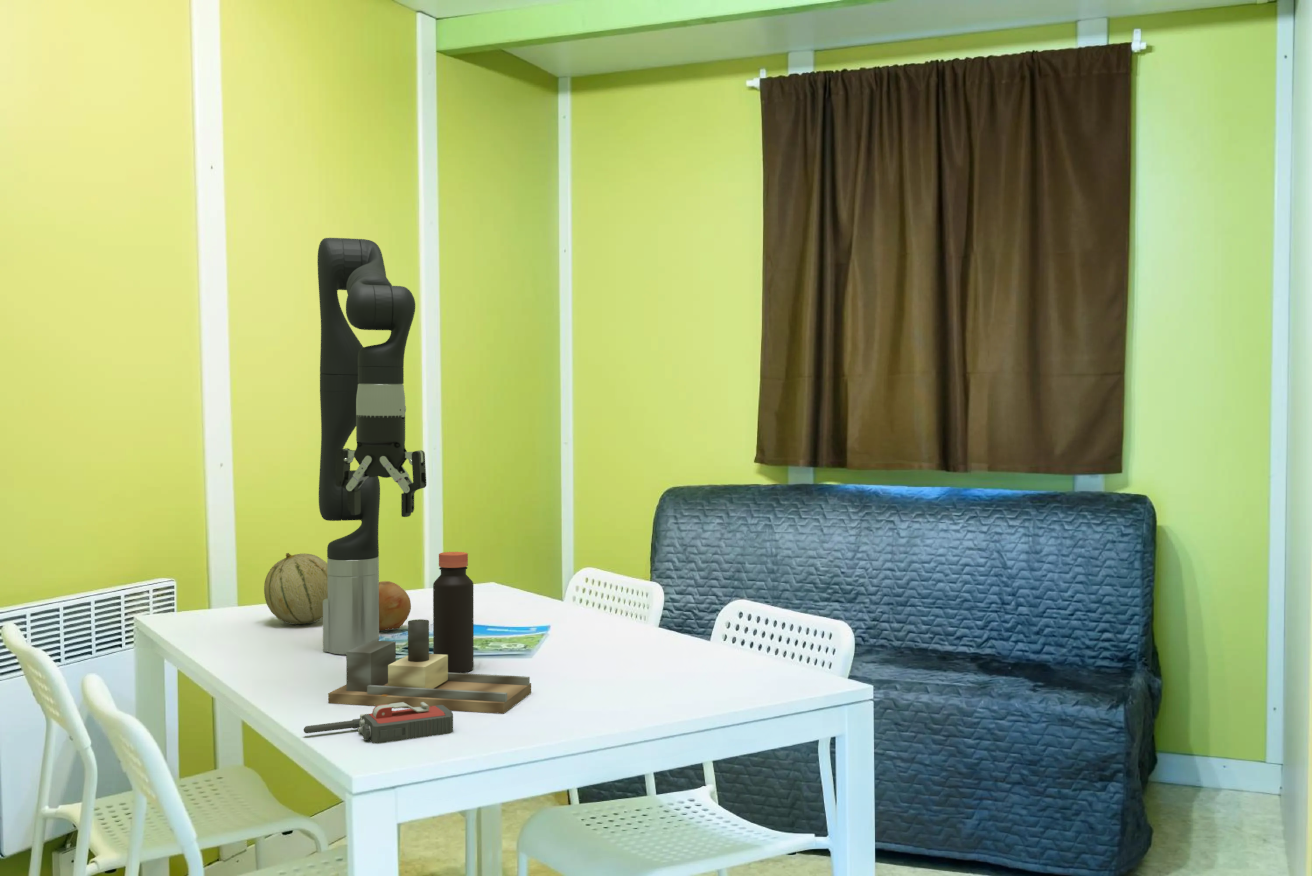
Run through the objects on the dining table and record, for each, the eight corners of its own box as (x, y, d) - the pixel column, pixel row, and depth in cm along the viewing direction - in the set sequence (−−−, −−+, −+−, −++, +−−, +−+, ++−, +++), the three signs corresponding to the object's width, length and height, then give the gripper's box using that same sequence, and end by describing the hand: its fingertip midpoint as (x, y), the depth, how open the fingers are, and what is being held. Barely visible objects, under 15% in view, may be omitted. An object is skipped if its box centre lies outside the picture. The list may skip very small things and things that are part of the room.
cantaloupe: (353, 622, 246) (352, 550, 245) (297, 633, 233) (297, 558, 233) (304, 615, 253) (304, 545, 253) (248, 625, 241) (248, 552, 241)
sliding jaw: (388, 691, 178) (387, 625, 178) (412, 678, 187) (412, 615, 187) (425, 693, 177) (425, 627, 177) (447, 679, 186) (447, 617, 186)
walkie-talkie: (442, 719, 170) (301, 738, 161) (442, 689, 170) (301, 706, 161) (463, 735, 163) (316, 755, 153) (463, 703, 163) (316, 721, 153)
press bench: (328, 703, 178) (328, 654, 178) (366, 683, 191) (366, 637, 191) (503, 713, 172) (503, 662, 172) (531, 692, 185) (531, 645, 185)
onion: (421, 628, 238) (421, 579, 238) (388, 637, 229) (388, 586, 229) (384, 624, 243) (384, 576, 242) (350, 632, 234) (350, 582, 234)
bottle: (440, 675, 197) (439, 556, 196) (428, 667, 203) (428, 552, 202) (478, 671, 200) (478, 554, 199) (466, 664, 206) (466, 550, 205)
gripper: (327, 412, 182) (328, 516, 183) (414, 414, 179) (414, 519, 180) (349, 411, 189) (349, 511, 190) (432, 412, 187) (432, 514, 188)
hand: (380, 515), depth 185 cm, fingers open, 8 cm apart
